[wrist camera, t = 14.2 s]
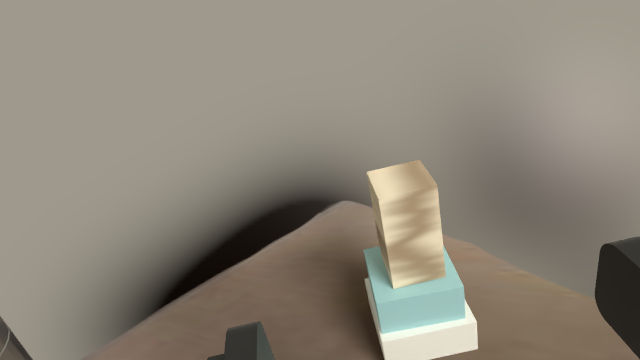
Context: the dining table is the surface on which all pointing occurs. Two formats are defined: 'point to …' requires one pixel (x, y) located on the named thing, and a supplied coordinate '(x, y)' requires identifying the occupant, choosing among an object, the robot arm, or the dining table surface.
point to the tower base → (426, 337)
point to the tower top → (414, 297)
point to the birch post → (408, 223)
